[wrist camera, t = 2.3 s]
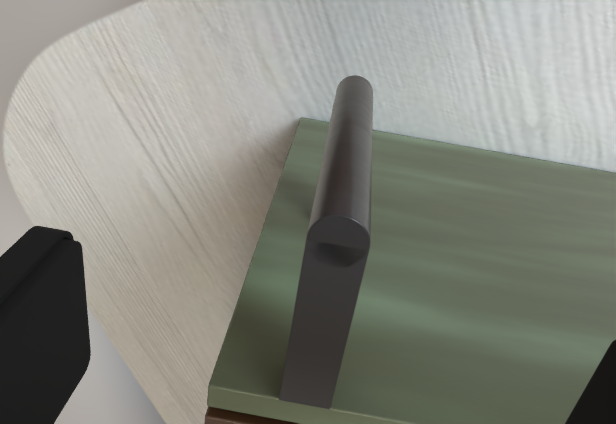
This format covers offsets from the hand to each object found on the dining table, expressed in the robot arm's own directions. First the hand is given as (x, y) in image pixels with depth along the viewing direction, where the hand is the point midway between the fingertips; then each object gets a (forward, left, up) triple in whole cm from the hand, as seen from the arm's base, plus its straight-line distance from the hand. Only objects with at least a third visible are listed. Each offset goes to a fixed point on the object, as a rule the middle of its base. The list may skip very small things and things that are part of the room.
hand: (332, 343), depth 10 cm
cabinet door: (+1, +11, -28) cm, 30 cm away
